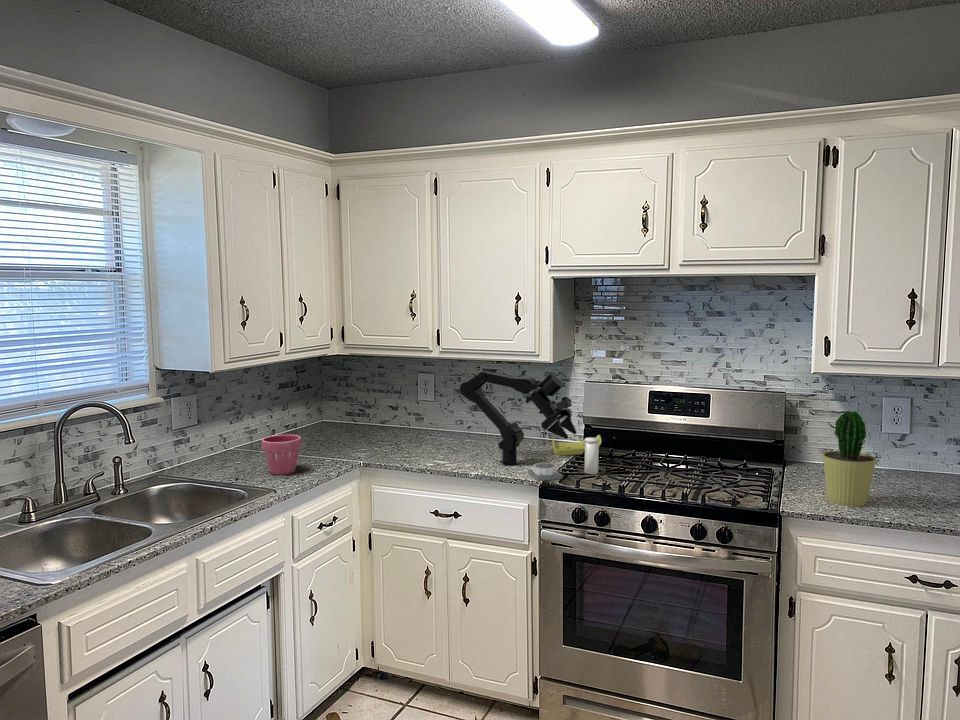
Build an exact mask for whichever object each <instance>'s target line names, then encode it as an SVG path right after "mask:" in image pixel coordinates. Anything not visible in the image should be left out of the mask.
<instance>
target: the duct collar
mask: <svg viewBox="0 0 960 720" xmlns="http://www.w3.org/2000/svg"><path fill="white" fill-rule="evenodd" d="M527 475H528V476H530V477H531V478H533V479H534V480H535V481H537V482H541V481H553V480H563V474H562V473H560V472H559V471H558V465H557V464H555V463H551V462H538V463H534V464H533V465H532V469H528V470H527Z"/></svg>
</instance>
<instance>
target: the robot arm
mask: <svg viewBox="0 0 960 720" xmlns="http://www.w3.org/2000/svg"><path fill="white" fill-rule="evenodd" d="M486 383H489V384H494V385H498V386H503V387H507V388H511V389H512V390H513V389H514V391H517V392H519V393H522V394H525V395H526V394H527V395H526V396H525V404H529V403H531V402H532V403H533V405H534V406H535V407H536V408H537V409H538V410H539V411H538V413H539V414H540V415H543V416H544V417H545V419H544V420H543V421H542V422H541V423H540V424H541V426H540V427H541V428H542V429H543V431H547V432H550V433H552V434H554V435H556V436H558V437H561V438H562V439H564V440H568V438H569V435H568V434H567V432H566V431H568V432H570V433H571V434H573V435H576V434H577V433H578V432H577V430H576V428H575V425H574V423H573V422H572V415H573V411H572V410H571V409H570V407H572V406H573V404H572V399H571V398H570V397H568V396H563V397H561V400H560V401H558V402H556V401H555V400H551V399H550V397H554V396H555V395H556V394H557V393H558V392H559V391H560V390H561V389H562V388H563V387H564V384H563V382H562V380H561V379H560V378H558V377H556V376H555V375H553V374H552V373H549V374H547V376H546V377H545V379H544V380H543V381H539V380H536V378H535V377H533V376H512V375H506V374H501V373H495V372H491V371H488V370H484V371H480V372H479V373H478V374H477V375H475V376H474V377H473V378H471V379H469V380H468V381H464V382H462V383H461V384H460V386H459V393H460V394H461V396H462V397H464V398H465V399H466V400H468V401H470V402H471V403H474V404H475V405H476V406H477V407H478V408H479V409H480V410H481V411H482V412H483V414H485V416H486V417H487V418H488V419H489V420H490V421H491V422H492V423H493V425H494V426H495V427H496V429H498V430H499V433H500V437H501V441H500V442H499V443H498V444H497V446H498V448H499V450H501V460H500V459H499V460H498V462H499V463H500V464H501V465H502V466H511V465H520V464H521V463H520V462H519V461H518V460H517V458H518V457H517V454H518V452H517V451H518V450H517V449H518V447H519V446H520V444H521V443H522V442H523V440H524V439H525V433H524V431H523V428H522V427H520V426H519V424H518V423H517V422H516V421H514V422H509V421H508V420H507V419H506V418H505V417H504V415H503V414H502V413H501V412H500V411H499V410H498V408H496V406H495V405H493V403H492V402H490V400H489V399H488V398H487V397H486V395H485V394H484V390H483V389H482V387H484V385H485V384H486ZM530 393H531V394H530ZM528 394H530V395H528ZM565 430H566V431H565Z"/></svg>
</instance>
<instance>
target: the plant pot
mask: <svg viewBox="0 0 960 720" xmlns="http://www.w3.org/2000/svg"><path fill="white" fill-rule="evenodd" d="M301 447H302V438H301V436H300V435H298V434H277V435H276V434H275V435H269V436H266V437H263V438H262V439H261V450H262V451H264V454H265V457H266V458H265V459H266V462H267V466H268V470H269V473H270V474H272V475H289V474H293V473H295V472H296V469H297V463H298V458H299V450H300V449H301Z"/></svg>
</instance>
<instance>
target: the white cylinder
mask: <svg viewBox="0 0 960 720" xmlns="http://www.w3.org/2000/svg"><path fill="white" fill-rule="evenodd" d="M584 439H585V451H584V469H583V470H584V472H585V473H587V474H597V473H598V474H599V452H600V451H599V448H600V446H599V439H598V438H596V437H591V436H590V437H585V438H584ZM585 473H584V474H585ZM587 474H586V475H587ZM598 474H597V475H598Z"/></svg>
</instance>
